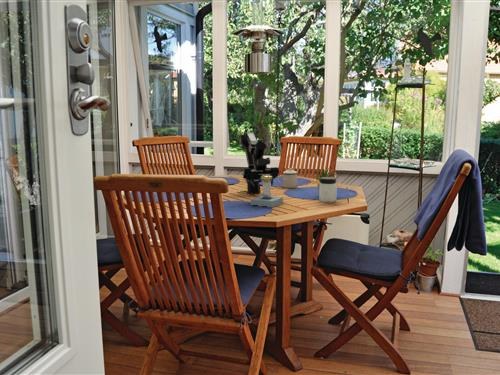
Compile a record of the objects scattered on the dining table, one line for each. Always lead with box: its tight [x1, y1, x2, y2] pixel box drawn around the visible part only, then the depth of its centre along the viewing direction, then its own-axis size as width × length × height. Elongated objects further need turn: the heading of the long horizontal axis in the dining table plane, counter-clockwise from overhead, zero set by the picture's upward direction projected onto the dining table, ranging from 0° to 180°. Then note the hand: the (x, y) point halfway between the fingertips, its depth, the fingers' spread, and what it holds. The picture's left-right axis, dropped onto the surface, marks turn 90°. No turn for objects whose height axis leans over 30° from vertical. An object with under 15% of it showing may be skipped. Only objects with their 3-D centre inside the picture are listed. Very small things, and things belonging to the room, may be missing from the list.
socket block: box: [250, 195, 284, 208], centre depth 239 cm, size 12×12×3 cm
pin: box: [261, 175, 272, 200], centre depth 239 cm, size 6×6×14 cm
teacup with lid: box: [277, 167, 298, 189], centre depth 290 cm, size 12×9×12 cm
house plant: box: [314, 166, 338, 194], centre depth 259 cm, size 14×14×16 cm
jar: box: [318, 176, 338, 203], centre depth 245 cm, size 9×8×12 cm
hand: (263, 185), depth 246 cm, fingers open, 9 cm apart
